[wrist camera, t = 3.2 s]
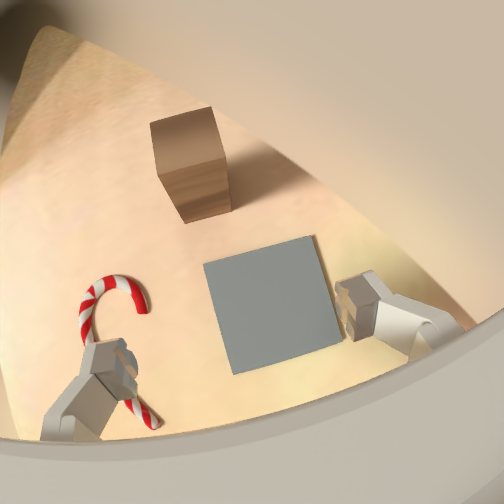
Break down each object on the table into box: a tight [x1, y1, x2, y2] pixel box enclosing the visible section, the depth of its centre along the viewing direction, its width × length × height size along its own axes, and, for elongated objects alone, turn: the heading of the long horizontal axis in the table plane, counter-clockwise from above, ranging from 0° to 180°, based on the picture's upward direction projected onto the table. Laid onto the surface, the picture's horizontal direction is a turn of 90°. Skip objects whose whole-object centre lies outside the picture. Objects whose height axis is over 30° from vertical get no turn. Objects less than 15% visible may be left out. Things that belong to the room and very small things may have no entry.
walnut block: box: [150, 107, 232, 224], centre depth 24 cm, size 4×4×10 cm
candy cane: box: [79, 275, 161, 430], centre depth 25 cm, size 8×1×15 cm
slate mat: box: [203, 235, 343, 375], centre depth 27 cm, size 10×10×1 cm
